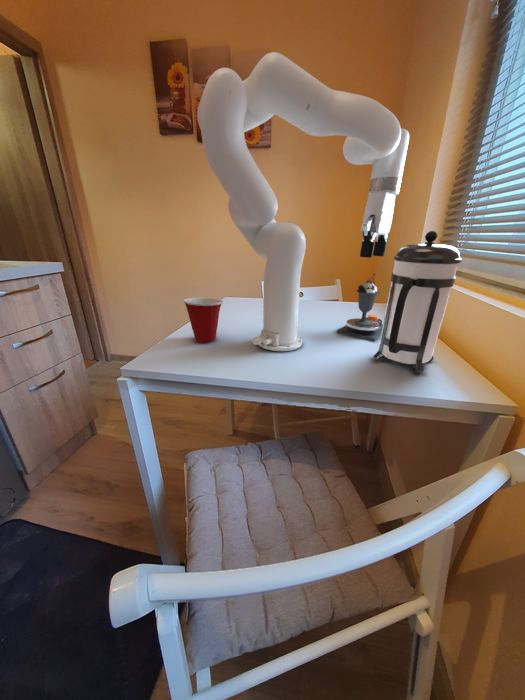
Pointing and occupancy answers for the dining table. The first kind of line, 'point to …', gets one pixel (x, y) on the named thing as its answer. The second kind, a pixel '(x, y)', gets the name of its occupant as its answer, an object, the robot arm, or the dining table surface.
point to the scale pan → (373, 325)
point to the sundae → (366, 299)
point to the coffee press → (417, 301)
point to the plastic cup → (203, 317)
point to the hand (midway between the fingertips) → (372, 256)
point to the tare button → (373, 317)
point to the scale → (363, 332)
